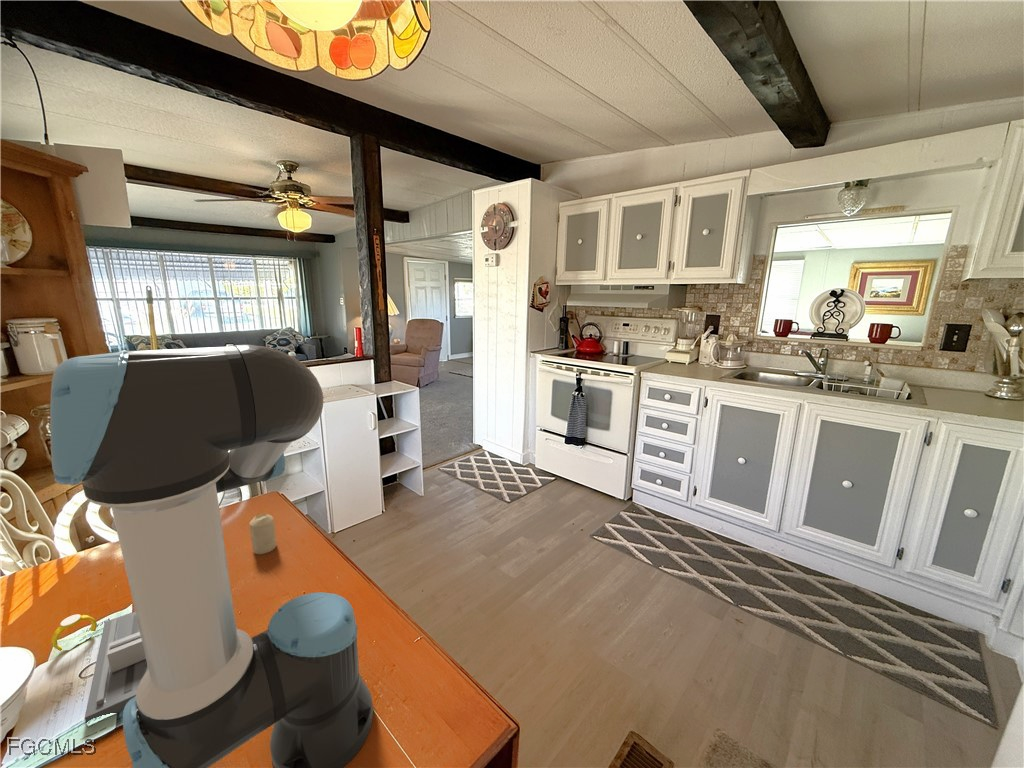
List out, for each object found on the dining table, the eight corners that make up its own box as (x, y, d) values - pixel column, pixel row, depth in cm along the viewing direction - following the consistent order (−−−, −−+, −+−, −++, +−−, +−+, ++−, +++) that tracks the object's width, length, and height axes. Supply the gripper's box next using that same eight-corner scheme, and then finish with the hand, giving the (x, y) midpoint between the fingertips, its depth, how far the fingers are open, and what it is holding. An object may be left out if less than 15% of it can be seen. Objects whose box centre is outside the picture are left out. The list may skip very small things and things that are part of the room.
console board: (222, 664, 75) (220, 652, 75) (87, 727, 64) (83, 714, 63) (213, 591, 93) (212, 580, 93) (106, 630, 82) (103, 618, 81)
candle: (248, 552, 107) (243, 519, 105) (265, 540, 112) (262, 508, 110) (263, 556, 106) (259, 523, 103) (281, 544, 111) (277, 512, 108)
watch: (61, 659, 76) (50, 635, 74) (54, 653, 77) (44, 630, 75) (102, 633, 81) (93, 611, 79) (95, 628, 82) (86, 606, 80)
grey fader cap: (149, 657, 74) (145, 639, 73) (111, 672, 71) (106, 654, 70) (149, 646, 76) (145, 628, 75) (113, 660, 73) (109, 642, 72)
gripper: (191, 520, 74) (209, 624, 80) (189, 492, 84) (205, 586, 89) (136, 535, 69) (159, 644, 75) (141, 503, 79) (161, 602, 85)
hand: (184, 612), depth 82 cm, fingers closed
